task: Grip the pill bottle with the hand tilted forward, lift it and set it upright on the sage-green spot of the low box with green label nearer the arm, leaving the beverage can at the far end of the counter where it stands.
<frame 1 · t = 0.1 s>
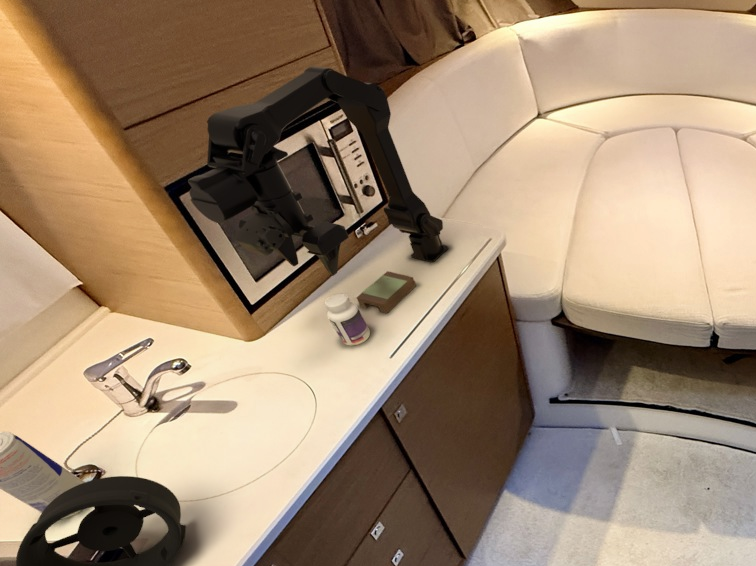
hand: (314, 269, 96), 15 cm above the worktop, tool pointing down, fingers open, 9 cm apart
black wheel: (118, 506, 72), point 5 cm above the worktop
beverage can: (75, 504, 78), on the worktop
pill bottle: (357, 337, 104), on the worktop
box with green label: (389, 296, 113), on the worktop
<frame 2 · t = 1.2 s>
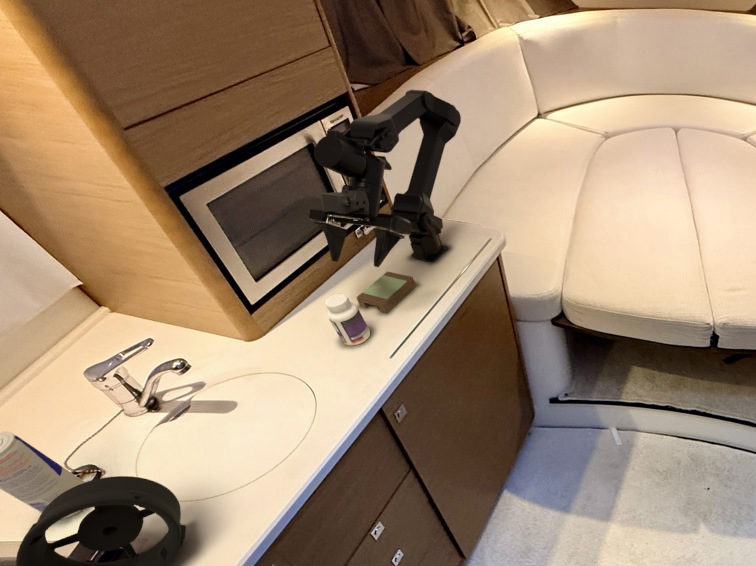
hand: (355, 264, 101), 12 cm above the worktop, tool tilted 45°, fingers open, 9 cm apart
nothing on the worktop moved.
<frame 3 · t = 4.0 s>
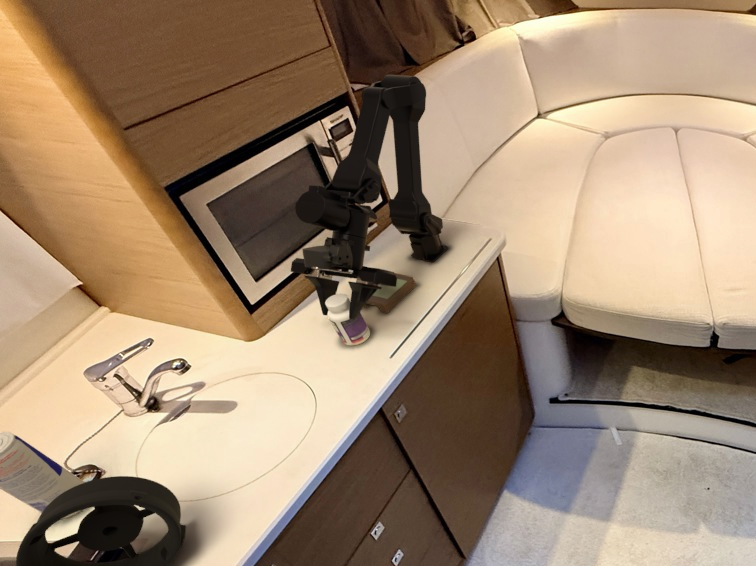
hand: (338, 317, 98), 7 cm above the worktop, tool tilted 45°, fingers closed on pill bottle, 5 cm apart
pill bottle: (357, 337, 104), on the worktop, touching gripper
everything else where it was.
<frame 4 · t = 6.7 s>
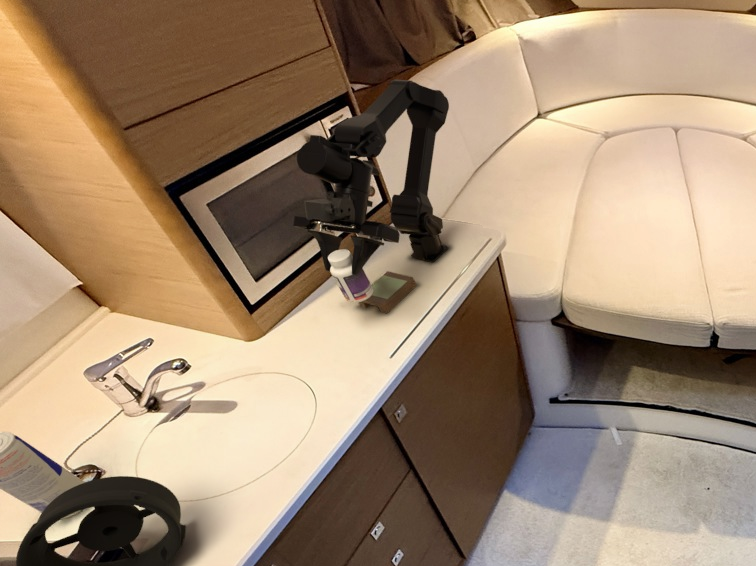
hand: (341, 272, 98), 13 cm above the worktop, tool tilted 45°, fingers closed on pill bottle, 5 cm apart
pill bottle: (360, 295, 104), point 6 cm above the worktop, touching gripper
everything else where it was.
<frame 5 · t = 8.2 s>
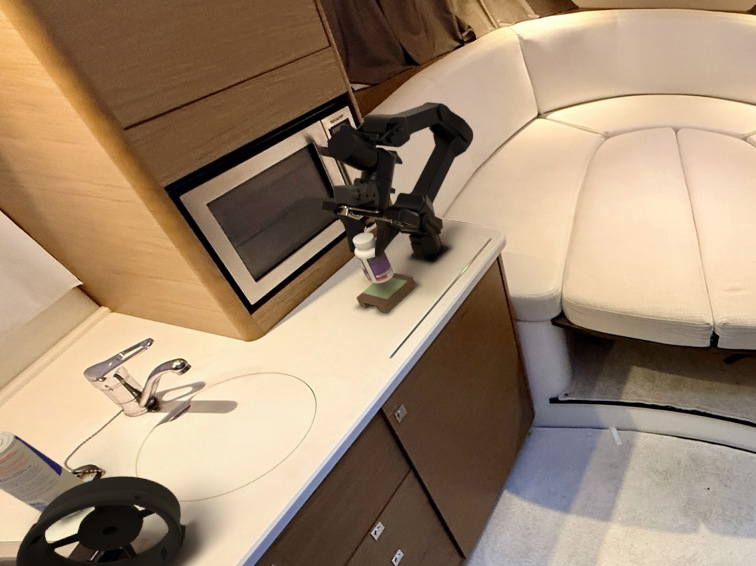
hand: (364, 254, 104), 12 cm above the worktop, tool tilted 45°, fingers closed on pill bottle, 5 cm apart
pill bottle: (381, 277, 110), point 5 cm above the worktop, touching gripper
everything else where it was.
when the fingers open (9 cm above the worktop, at t = 9.4 s): pill bottle stays where it is, resting on box with green label.
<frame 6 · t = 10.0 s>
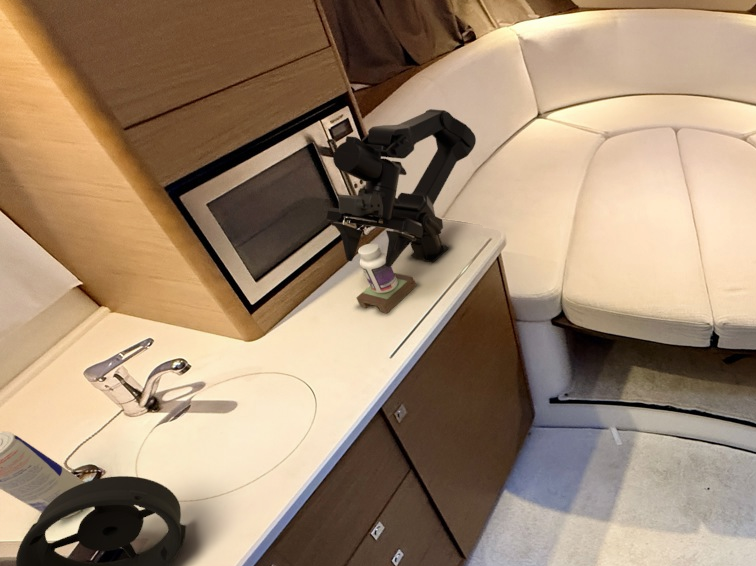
hand: (368, 263, 105), 10 cm above the worktop, tool tilted 45°, fingers open, 9 cm apart
pill bottle: (385, 287, 112), point 2 cm above the worktop, touching box with green label
everything else where it was.
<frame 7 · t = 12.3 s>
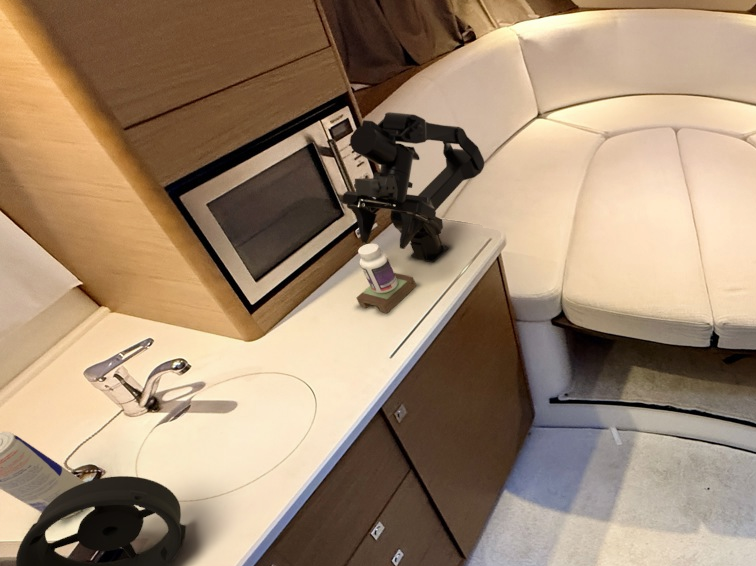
hand: (382, 245, 109), 11 cm above the worktop, tool tilted 45°, fingers open, 9 cm apart
nothing on the worktop moved.
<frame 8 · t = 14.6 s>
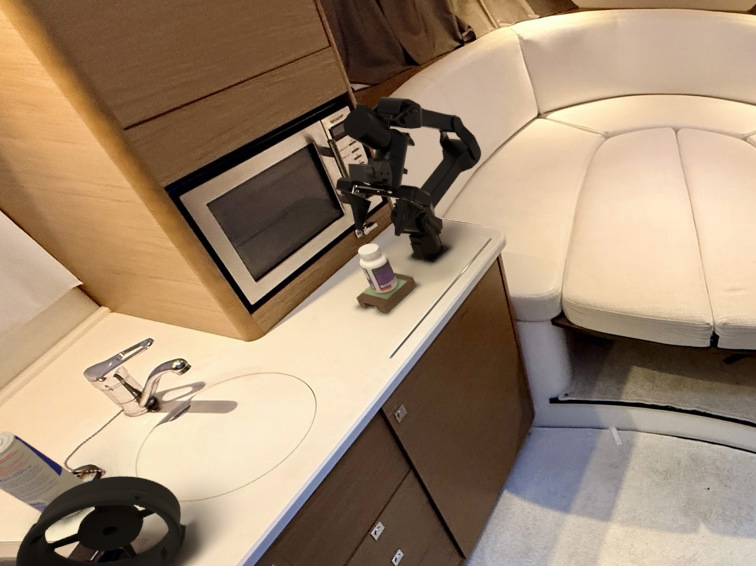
hand: (377, 233, 106), 14 cm above the worktop, tool tilted 45°, fingers open, 9 cm apart
nothing on the worktop moved.
at the end: pill bottle 0.2 cm off-centre on the box with green label, point 2.4 cm above the box with green label's base; pill bottle tilted 0°; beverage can moved 0.2 cm from its start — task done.
